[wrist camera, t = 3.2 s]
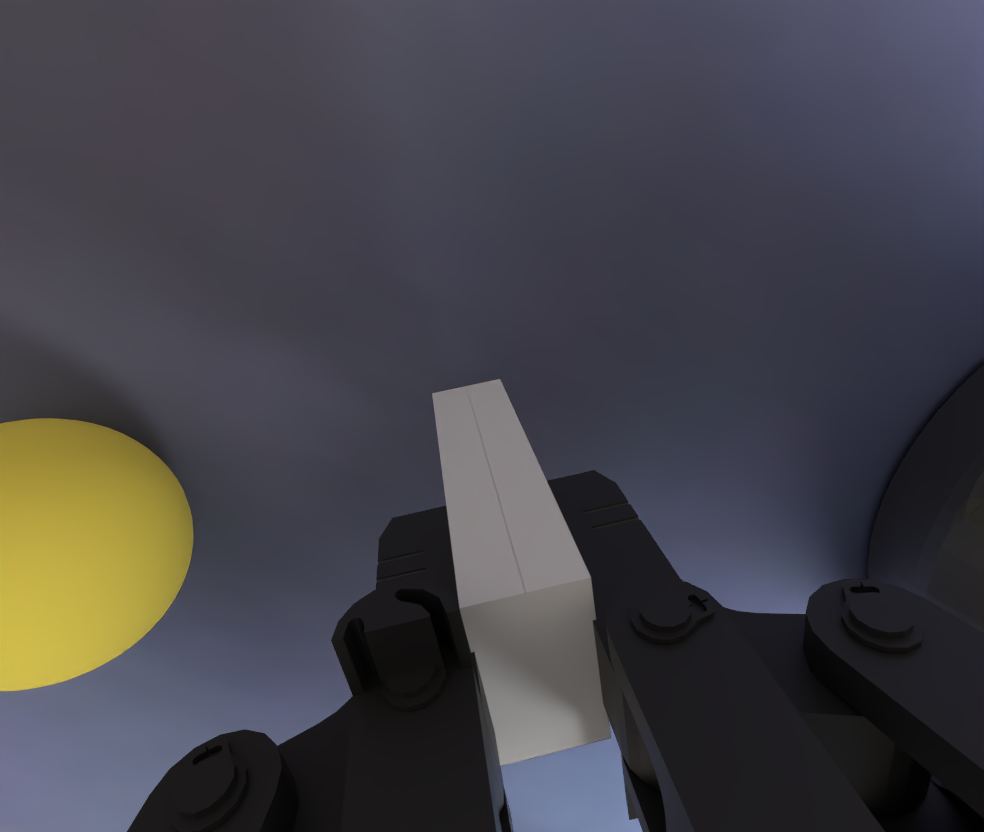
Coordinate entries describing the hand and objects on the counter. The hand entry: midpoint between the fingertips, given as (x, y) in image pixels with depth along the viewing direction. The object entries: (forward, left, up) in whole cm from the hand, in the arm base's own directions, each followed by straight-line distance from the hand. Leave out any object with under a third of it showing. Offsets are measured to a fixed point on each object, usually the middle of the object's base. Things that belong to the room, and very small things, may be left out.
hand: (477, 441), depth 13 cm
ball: (+9, 0, 0) cm, 9 cm away
